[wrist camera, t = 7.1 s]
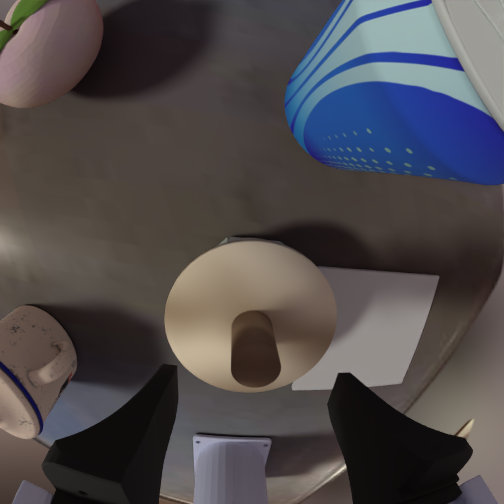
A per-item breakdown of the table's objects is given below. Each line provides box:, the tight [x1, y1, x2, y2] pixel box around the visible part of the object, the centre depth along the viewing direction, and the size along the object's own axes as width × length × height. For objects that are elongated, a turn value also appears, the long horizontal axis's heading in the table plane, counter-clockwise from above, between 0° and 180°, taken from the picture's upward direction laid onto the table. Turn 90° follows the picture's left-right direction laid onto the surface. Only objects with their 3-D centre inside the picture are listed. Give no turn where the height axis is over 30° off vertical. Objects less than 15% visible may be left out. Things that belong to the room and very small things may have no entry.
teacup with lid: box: [0, 305, 77, 439], centre depth 17 cm, size 12×9×12 cm
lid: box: [165, 239, 337, 392], centre depth 16 cm, size 10×10×5 cm
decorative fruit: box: [0, 0, 103, 108], centre depth 12 cm, size 9×8×10 cm
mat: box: [292, 266, 439, 390], centre depth 23 cm, size 12×12×1 cm
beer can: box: [285, 0, 504, 185], centre depth 11 cm, size 8×8×16 cm
